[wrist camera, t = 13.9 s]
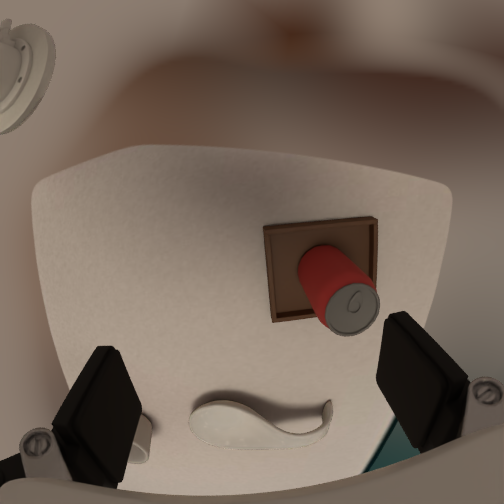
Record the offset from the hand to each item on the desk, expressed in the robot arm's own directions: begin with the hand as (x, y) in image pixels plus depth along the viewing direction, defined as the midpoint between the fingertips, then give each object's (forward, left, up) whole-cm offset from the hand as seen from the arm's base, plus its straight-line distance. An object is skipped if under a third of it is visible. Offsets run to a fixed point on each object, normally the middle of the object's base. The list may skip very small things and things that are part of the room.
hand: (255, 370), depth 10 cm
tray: (+7, +9, -28) cm, 30 cm away
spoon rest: (+32, -1, -28) cm, 43 cm away
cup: (+32, -24, -28) cm, 49 cm away
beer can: (+7, +9, -28) cm, 30 cm away
